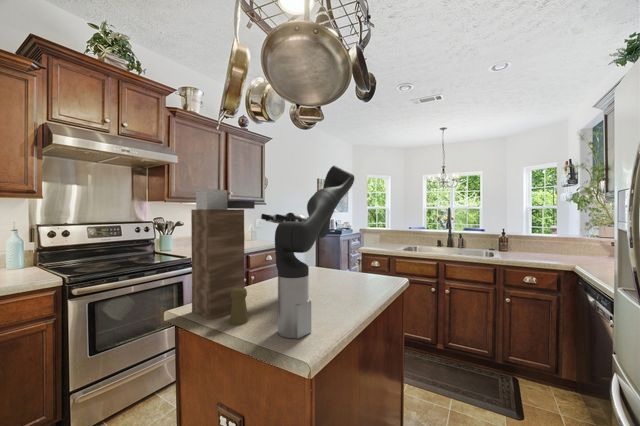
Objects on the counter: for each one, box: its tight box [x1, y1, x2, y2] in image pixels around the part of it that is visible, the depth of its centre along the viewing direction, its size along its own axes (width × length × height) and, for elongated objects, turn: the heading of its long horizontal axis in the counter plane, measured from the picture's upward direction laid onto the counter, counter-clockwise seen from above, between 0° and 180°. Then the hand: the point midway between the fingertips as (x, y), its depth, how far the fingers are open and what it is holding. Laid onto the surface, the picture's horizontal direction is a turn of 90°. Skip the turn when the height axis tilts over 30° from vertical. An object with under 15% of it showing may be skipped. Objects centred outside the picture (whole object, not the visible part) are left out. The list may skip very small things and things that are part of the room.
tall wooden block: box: [190, 209, 245, 320], centre depth 108 cm, size 12×14×37 cm
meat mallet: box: [195, 188, 255, 210], centre depth 111 cm, size 7×22×7 cm, turn 141°
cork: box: [229, 287, 249, 326], centre depth 97 cm, size 6×6×11 cm
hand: (268, 216), depth 118 cm, fingers open, 8 cm apart
